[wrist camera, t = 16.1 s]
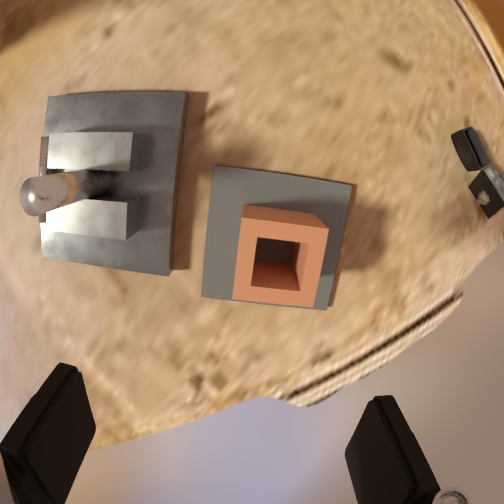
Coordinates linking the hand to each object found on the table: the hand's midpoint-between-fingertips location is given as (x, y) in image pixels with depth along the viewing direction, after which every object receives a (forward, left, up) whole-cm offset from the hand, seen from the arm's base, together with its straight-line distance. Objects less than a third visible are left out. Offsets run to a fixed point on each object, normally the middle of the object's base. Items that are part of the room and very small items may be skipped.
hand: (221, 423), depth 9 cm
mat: (-1, +3, -21) cm, 21 cm away
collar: (-1, +3, -20) cm, 20 cm away
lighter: (-11, +22, -21) cm, 32 cm away
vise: (-5, -13, -21) cm, 25 cm away
